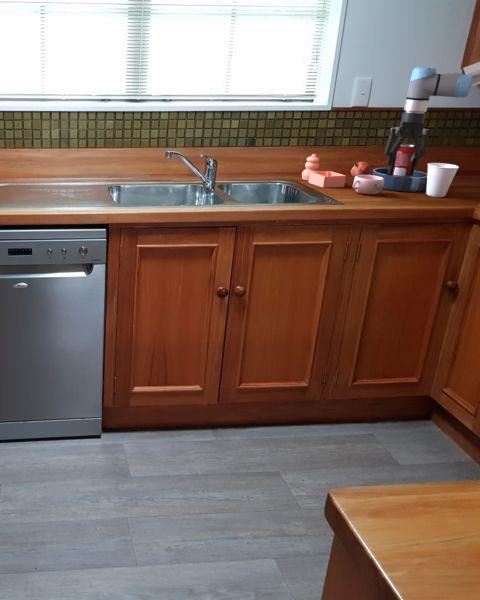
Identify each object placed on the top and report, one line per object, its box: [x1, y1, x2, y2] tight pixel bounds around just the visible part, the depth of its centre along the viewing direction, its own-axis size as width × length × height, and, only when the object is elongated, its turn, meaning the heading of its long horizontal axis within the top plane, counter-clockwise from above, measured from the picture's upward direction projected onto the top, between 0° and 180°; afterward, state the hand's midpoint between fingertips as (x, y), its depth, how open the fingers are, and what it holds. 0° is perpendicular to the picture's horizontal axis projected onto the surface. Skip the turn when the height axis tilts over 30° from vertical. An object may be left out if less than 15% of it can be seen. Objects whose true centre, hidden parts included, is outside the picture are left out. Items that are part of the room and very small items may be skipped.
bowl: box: [371, 167, 428, 193], centre depth 233 cm, size 19×19×6 cm
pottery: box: [301, 153, 347, 189], centre depth 237 cm, size 18×10×10 cm, turn 16°
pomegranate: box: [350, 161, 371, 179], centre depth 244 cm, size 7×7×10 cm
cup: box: [425, 162, 460, 198], centre depth 220 cm, size 10×10×11 cm
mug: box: [352, 174, 384, 196], centre depth 221 cm, size 12×10×6 cm
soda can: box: [392, 143, 416, 177], centre depth 231 cm, size 7×7×12 cm
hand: (400, 174), depth 233 cm, fingers closed on soda can, 7 cm apart
